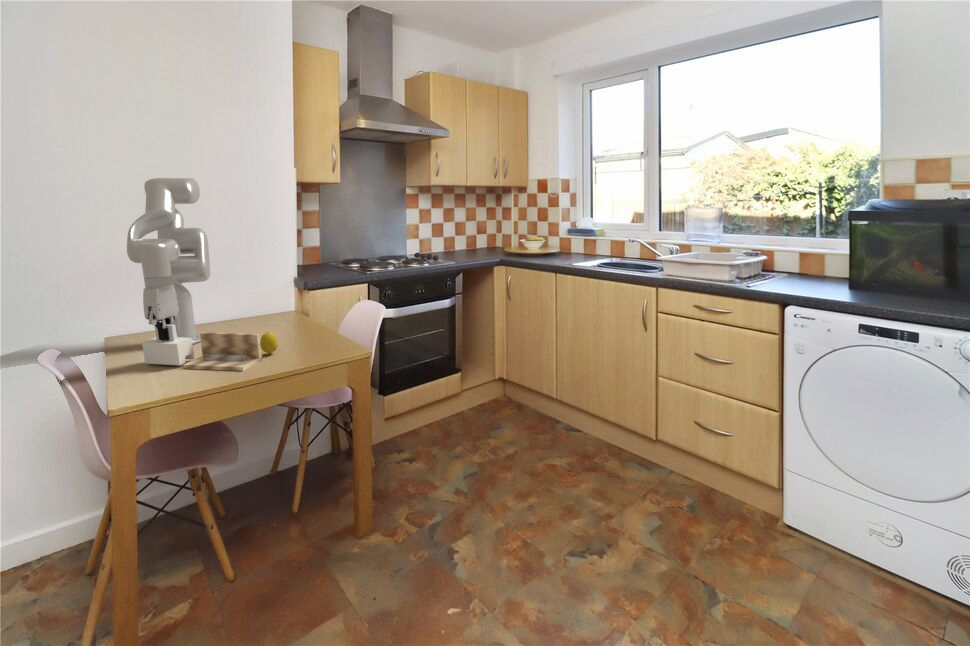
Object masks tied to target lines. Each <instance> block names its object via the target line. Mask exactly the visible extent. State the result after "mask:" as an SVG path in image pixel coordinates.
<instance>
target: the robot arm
mask: <svg viewBox="0 0 970 646" xmlns="http://www.w3.org/2000/svg"><path fill="white" fill-rule="evenodd" d="M143 186H144V193H145V210H144V211H145V212H144V213H143V214H142V215H140V216H139V217H138V218H136V219H135V221H134V222H132V224H131V225H130V227H129V228H128V230H127V236H126V237H127V239H126V253H127V254H126V255H127V258H129V260H130V262H133V263H136V264H141V268H142V276H143V281H144V288H143V292H142V294H143V295H142V300H143V301H142V303H143V304H142V305H143V313H144V318H145V319H146V320H148V325H152V326H154V328H155V327H156V328H157V329H158V336H159V340H167V341H168V340H169V333H168V328H166V324H172V325H175V326H176V333H177V337H184V338H192V344H193V345H194V344H198V343H201V339H200V335H197V331H196V324H195V316H194V307H193V300H192V298H193V297H192V294H191V292H190V291H189V289H188V288H187V287H186V286H184V285H183V284H185V283H201V282H206V281H208V280H209V279H210V275H211V267H210V265H211V264H210V253H209V252H210V250H209V241H208V235H207V234H206V231H204V230H203V229H202V228H198V227H185V220H184V216H183V213H181V212H180V211H179V210H178V209H177V208H176V205H177V204H178V205H180V204H181V205H182V204H183V205H185V204H187V205H191V204H195V203H197V202H198V201H199V199H200V196H201V195H200V194H201V190H200V186H199V183H198V182H197V181H196V180H195V178H191V177H190V178H189V177H188V178H184V177H183V178H182V177H180V178H179V177H176V178H175V177H172V178H171V177H159V178H158V177H157V178H150V179H148V180H146V181H145V182H144V184H143ZM156 231H157V238H144V237H145V236H146V235H149V234H151V233H154V232H156Z"/></svg>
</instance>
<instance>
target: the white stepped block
mask: <svg viewBox="0 0 970 646" xmlns="http://www.w3.org/2000/svg"><path fill="white" fill-rule="evenodd" d="M166 328H168V333H169V340H168V341H167V340H159V336H158V329H157V328H156V327H155V326H154V330H155V336H154V337H152V338H149V339H147V340H144V341H142V342H141V345H142V351H143V358H144V363H145V364H150V365H151V364H153V365H166V366H167V365H169V366H183V365H184V364H186V363H187V360H195V354H194V353H195V352H194V344H192V338H184V337H177V333H176V326H175V325H172V324H166Z"/></svg>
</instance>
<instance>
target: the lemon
mask: <svg viewBox="0 0 970 646" xmlns="http://www.w3.org/2000/svg"><path fill="white" fill-rule="evenodd" d="M260 344H261V351H263V352H264V353H266V354H268V355H273V353H274V352H276V351H277V349H278V346H279V342H278V338H277V335H275V333H273V332H270V331H267V332H265V333H264V334H263V335H262V336H261V337H260Z"/></svg>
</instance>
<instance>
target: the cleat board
mask: <svg viewBox="0 0 970 646" xmlns="http://www.w3.org/2000/svg"><path fill="white" fill-rule="evenodd" d="M199 336H200V339H201V341H200V344H201V345H200V347H201V354H202V356H199V357H197V358H194V359H192V360H190V361H188V362H186V363H184V364H182V366H183V369H189V370H190V369H191V370H192V369H193V370H212V371H215V370H216V371H235V372H245V371H246V370H248V369H249V368H251V367H253V366H255V365H257V364H258V363H260V362H262V361H263V355H262V348H261V344H260V341H261V337H260V333H243V332H240V333H239V332H236V333H235V332H213V331H211V332H210V331H202V332H199Z"/></svg>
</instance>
